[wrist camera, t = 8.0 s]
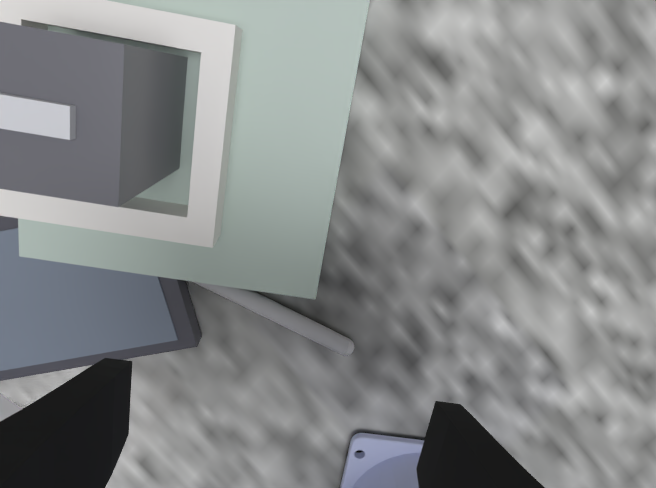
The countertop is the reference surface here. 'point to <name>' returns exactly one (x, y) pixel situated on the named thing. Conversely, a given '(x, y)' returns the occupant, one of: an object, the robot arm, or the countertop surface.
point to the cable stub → (285, 317)
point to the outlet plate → (217, 142)
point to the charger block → (87, 115)
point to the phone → (83, 313)
